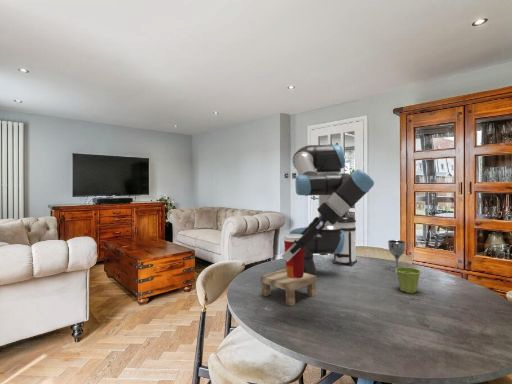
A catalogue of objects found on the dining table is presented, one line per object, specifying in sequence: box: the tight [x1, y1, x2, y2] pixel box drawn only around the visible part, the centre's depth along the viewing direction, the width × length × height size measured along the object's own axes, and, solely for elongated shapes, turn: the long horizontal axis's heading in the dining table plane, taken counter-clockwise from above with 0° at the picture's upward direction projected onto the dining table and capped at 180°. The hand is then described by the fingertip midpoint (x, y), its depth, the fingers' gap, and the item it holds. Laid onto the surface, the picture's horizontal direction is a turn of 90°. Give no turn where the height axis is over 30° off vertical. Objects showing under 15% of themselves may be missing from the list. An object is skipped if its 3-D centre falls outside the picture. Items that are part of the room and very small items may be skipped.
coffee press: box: [331, 212, 358, 267], centre depth 163 cm, size 17×16×30 cm
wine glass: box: [387, 239, 406, 273], centre depth 149 cm, size 8×8×15 cm
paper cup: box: [282, 233, 305, 279], centre depth 99 cm, size 8×8×14 cm
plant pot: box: [395, 266, 422, 294], centre depth 120 cm, size 9×9×9 cm
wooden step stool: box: [260, 268, 317, 307], centre depth 117 cm, size 16×16×8 cm
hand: (285, 255), depth 99 cm, fingers closed on paper cup, 8 cm apart
